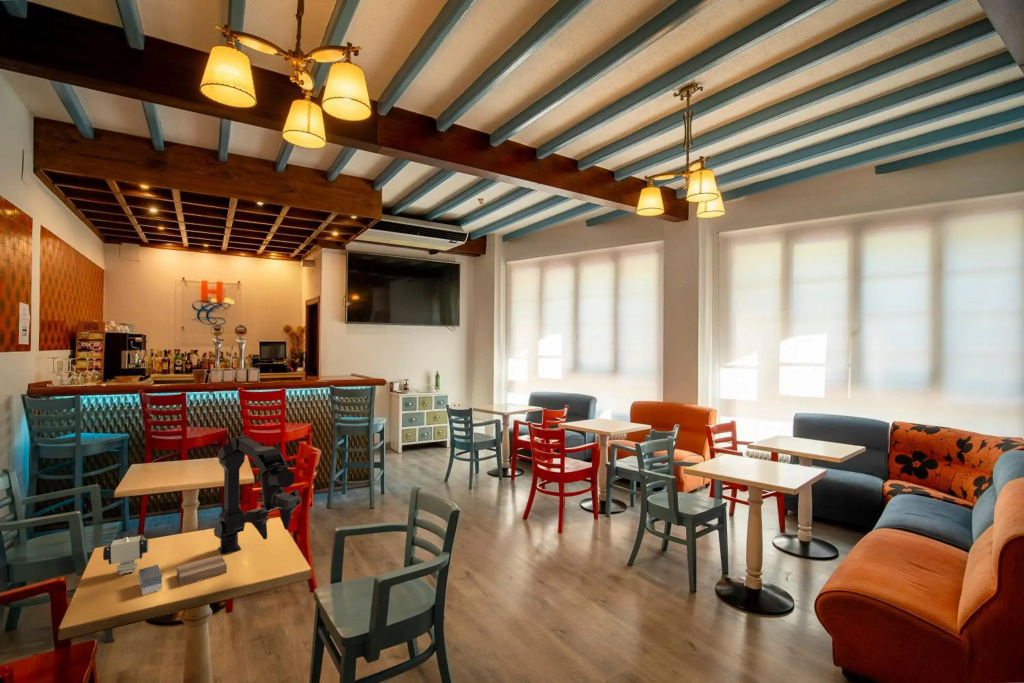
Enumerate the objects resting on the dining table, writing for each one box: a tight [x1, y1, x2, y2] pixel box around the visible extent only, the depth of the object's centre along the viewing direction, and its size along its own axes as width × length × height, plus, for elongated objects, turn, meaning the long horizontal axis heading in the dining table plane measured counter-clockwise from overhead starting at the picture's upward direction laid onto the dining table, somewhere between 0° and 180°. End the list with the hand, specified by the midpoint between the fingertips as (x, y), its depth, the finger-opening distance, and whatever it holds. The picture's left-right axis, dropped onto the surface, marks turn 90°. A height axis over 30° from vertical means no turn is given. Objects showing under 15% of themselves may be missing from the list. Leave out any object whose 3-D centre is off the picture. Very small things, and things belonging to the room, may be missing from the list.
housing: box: [138, 564, 163, 595], centre depth 160 cm, size 9×5×5 cm, turn 42°
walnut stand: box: [176, 554, 228, 586], centre depth 168 cm, size 9×13×3 cm
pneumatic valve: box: [102, 535, 150, 575], centre depth 169 cm, size 6×12×12 cm, turn 120°
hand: (276, 534), depth 166 cm, fingers open, 9 cm apart
